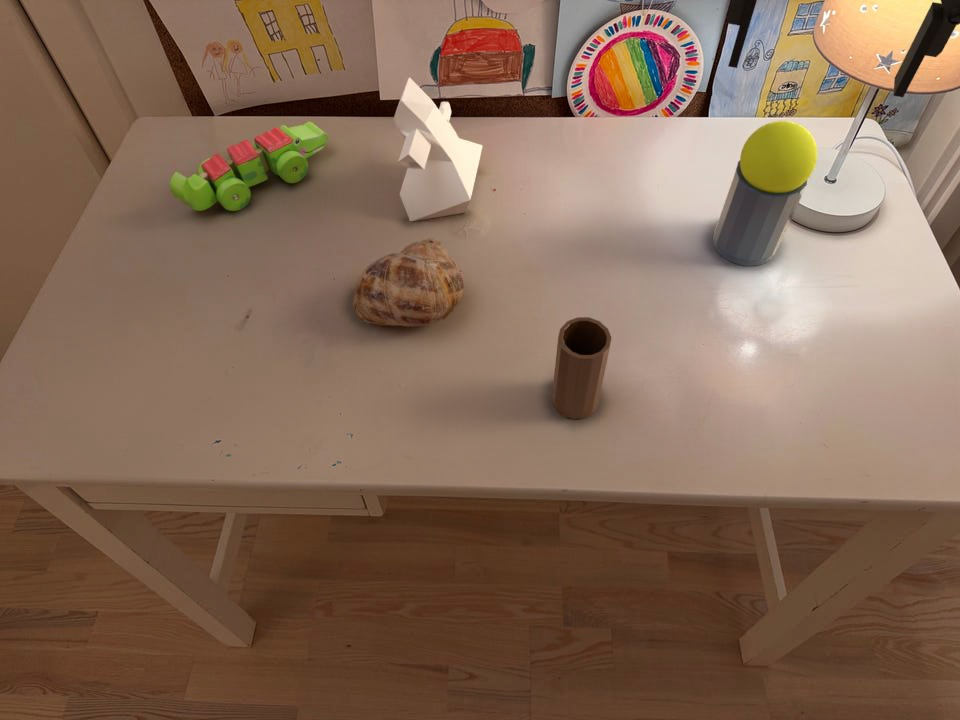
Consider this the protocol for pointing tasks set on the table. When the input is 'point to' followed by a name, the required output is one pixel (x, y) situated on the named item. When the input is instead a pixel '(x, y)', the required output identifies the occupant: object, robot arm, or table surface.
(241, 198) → the toy crocodile
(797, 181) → the ball
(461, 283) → the seashell
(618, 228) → the table surface
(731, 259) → the cup
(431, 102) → the white angular sculpture
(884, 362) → the table surface
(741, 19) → the robot arm
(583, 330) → the stand
